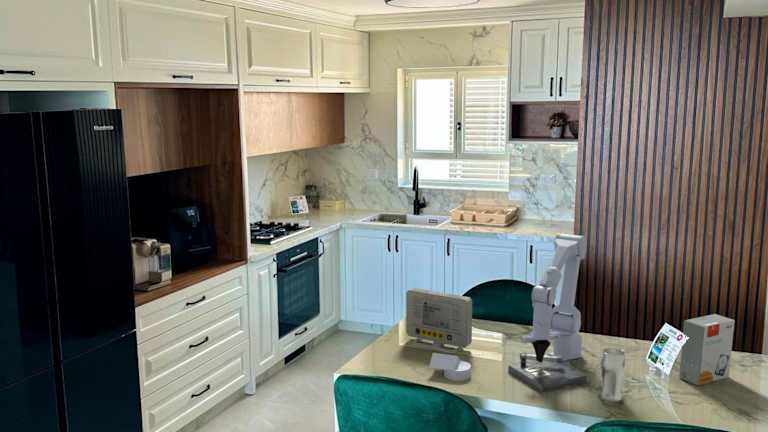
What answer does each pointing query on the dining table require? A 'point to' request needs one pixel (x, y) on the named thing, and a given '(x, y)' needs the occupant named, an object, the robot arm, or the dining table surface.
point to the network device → (439, 319)
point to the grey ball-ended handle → (545, 358)
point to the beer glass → (612, 373)
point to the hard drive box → (706, 349)
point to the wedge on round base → (451, 366)
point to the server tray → (547, 374)
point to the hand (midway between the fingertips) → (539, 361)
